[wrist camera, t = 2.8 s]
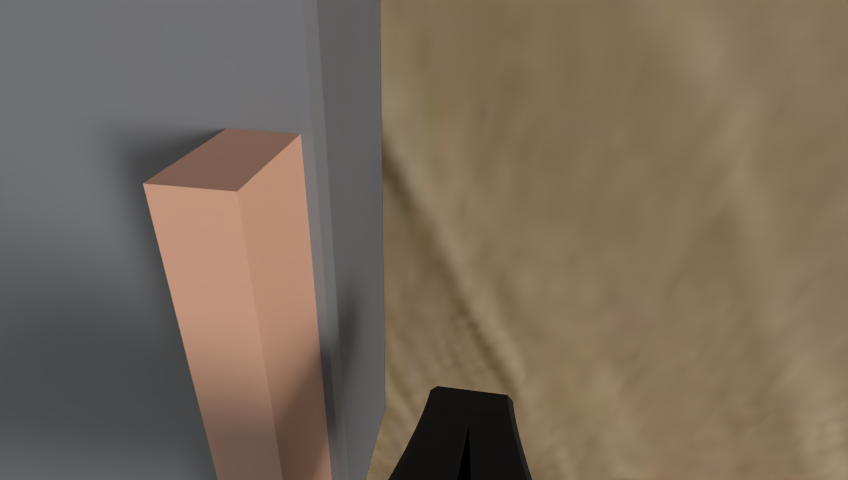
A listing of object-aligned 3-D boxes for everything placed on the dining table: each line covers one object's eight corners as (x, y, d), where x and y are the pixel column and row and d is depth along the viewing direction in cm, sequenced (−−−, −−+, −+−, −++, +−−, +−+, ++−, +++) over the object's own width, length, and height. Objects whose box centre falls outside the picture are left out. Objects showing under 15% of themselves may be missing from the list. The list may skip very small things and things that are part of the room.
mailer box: (385, 407, 19) (348, 542, 15) (78, 367, 20) (-37, 480, 16) (379, -29, 12) (307, -13, 8) (-82, -47, 14) (-358, -41, 9)
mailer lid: (353, 555, 15) (322, 675, 12) (-47, 489, 16) (-145, 586, 14) (314, -27, 8) (224, -12, 5) (-393, -55, 9) (-723, -52, 7)
